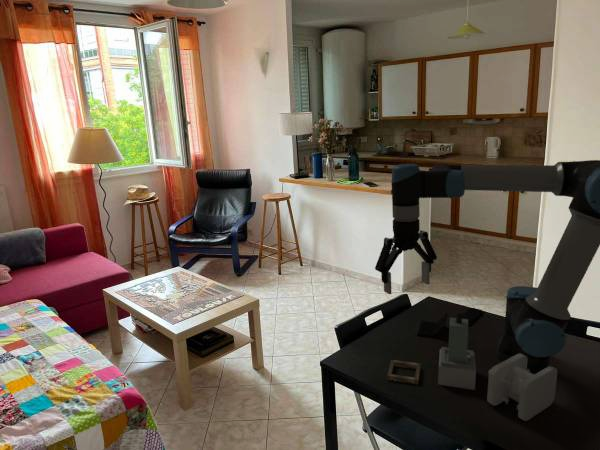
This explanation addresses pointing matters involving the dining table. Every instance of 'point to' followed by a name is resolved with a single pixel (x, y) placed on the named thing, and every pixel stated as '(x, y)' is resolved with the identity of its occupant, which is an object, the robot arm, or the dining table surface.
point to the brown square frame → (404, 378)
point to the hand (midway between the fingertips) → (407, 287)
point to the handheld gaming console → (431, 327)
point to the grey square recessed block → (457, 371)
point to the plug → (458, 339)
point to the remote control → (472, 315)
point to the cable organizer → (522, 386)
